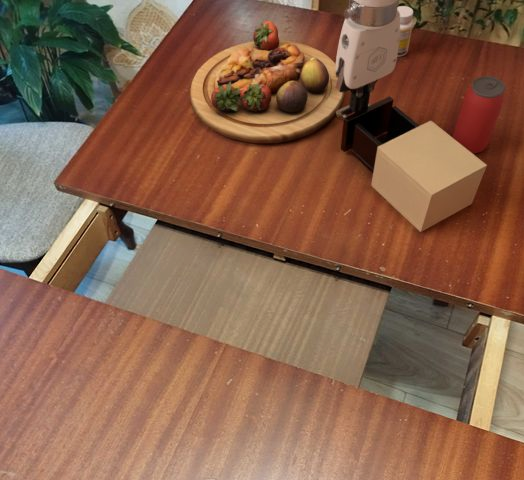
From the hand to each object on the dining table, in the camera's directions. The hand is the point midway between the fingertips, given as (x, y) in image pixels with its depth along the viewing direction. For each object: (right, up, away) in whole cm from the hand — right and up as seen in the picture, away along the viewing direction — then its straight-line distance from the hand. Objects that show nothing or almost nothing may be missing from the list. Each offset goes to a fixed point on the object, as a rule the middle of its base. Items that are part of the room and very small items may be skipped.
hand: (357, 110), depth 100 cm
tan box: (+11, -16, -3) cm, 20 cm away
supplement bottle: (+12, +21, +18) cm, 30 cm away
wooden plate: (-17, +9, +13) cm, 23 cm away
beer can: (+22, -5, +3) cm, 22 cm away
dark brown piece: (+4, -7, +2) cm, 8 cm away
